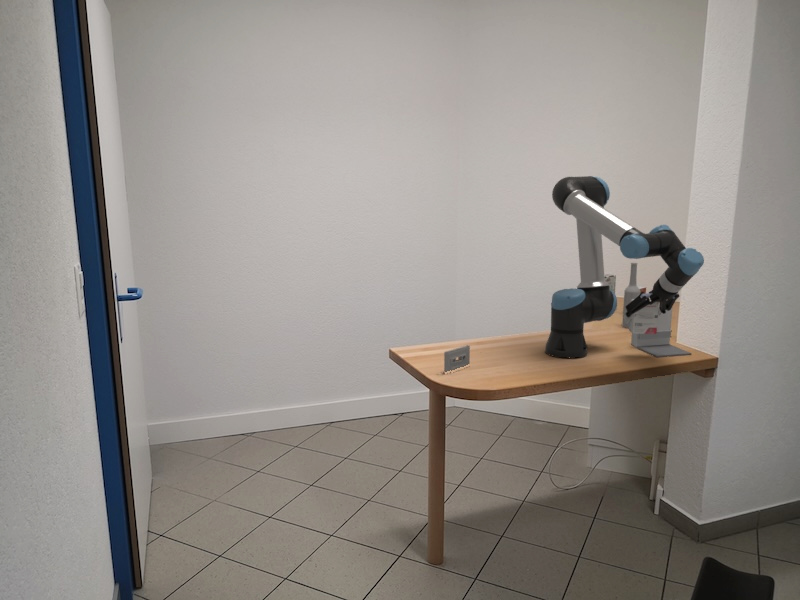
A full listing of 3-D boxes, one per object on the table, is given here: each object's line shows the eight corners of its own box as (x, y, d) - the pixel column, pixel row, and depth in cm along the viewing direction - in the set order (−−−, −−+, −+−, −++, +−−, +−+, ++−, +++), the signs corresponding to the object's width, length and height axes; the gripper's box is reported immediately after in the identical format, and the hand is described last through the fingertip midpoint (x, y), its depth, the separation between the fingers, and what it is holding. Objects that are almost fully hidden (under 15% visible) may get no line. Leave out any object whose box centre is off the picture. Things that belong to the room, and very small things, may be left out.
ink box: (652, 330, 214) (655, 298, 212) (656, 334, 209) (659, 301, 207) (627, 330, 215) (630, 298, 213) (631, 333, 210) (634, 301, 208)
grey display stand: (656, 357, 212) (659, 314, 209) (628, 344, 229) (631, 304, 226) (691, 354, 214) (694, 311, 211) (661, 342, 232) (664, 302, 228)
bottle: (621, 327, 255) (625, 263, 250) (622, 324, 261) (626, 261, 255) (637, 329, 252) (642, 264, 247) (638, 325, 258) (643, 262, 253)
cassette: (466, 366, 206) (466, 344, 205) (470, 367, 205) (470, 345, 203) (443, 373, 198) (443, 351, 197) (447, 375, 197) (447, 352, 195)
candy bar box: (607, 305, 301) (608, 273, 297) (614, 307, 296) (616, 275, 293) (591, 308, 295) (592, 275, 292) (598, 310, 291) (600, 277, 288)
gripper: (643, 295, 192) (613, 330, 210) (703, 292, 196) (668, 326, 214) (635, 276, 196) (606, 312, 214) (694, 274, 200) (661, 309, 218)
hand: (637, 319), depth 214 cm, fingers closed on ink box, 9 cm apart
